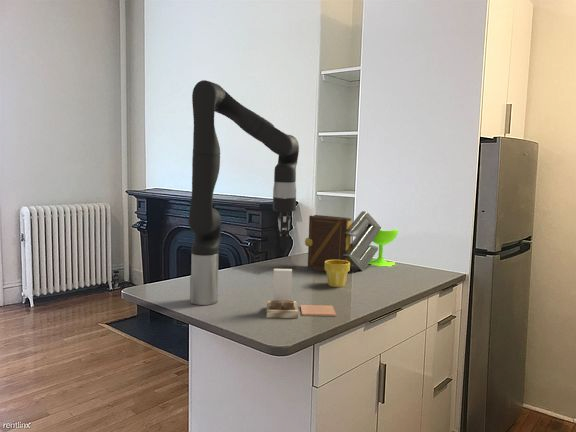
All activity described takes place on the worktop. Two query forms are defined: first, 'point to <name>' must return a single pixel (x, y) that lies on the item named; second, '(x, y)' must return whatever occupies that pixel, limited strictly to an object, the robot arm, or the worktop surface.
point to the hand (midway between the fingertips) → (283, 245)
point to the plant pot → (337, 272)
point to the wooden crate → (326, 240)
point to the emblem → (362, 241)
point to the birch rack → (282, 312)
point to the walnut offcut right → (288, 305)
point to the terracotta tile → (317, 310)
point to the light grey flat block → (282, 285)
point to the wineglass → (382, 239)
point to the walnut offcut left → (276, 305)
